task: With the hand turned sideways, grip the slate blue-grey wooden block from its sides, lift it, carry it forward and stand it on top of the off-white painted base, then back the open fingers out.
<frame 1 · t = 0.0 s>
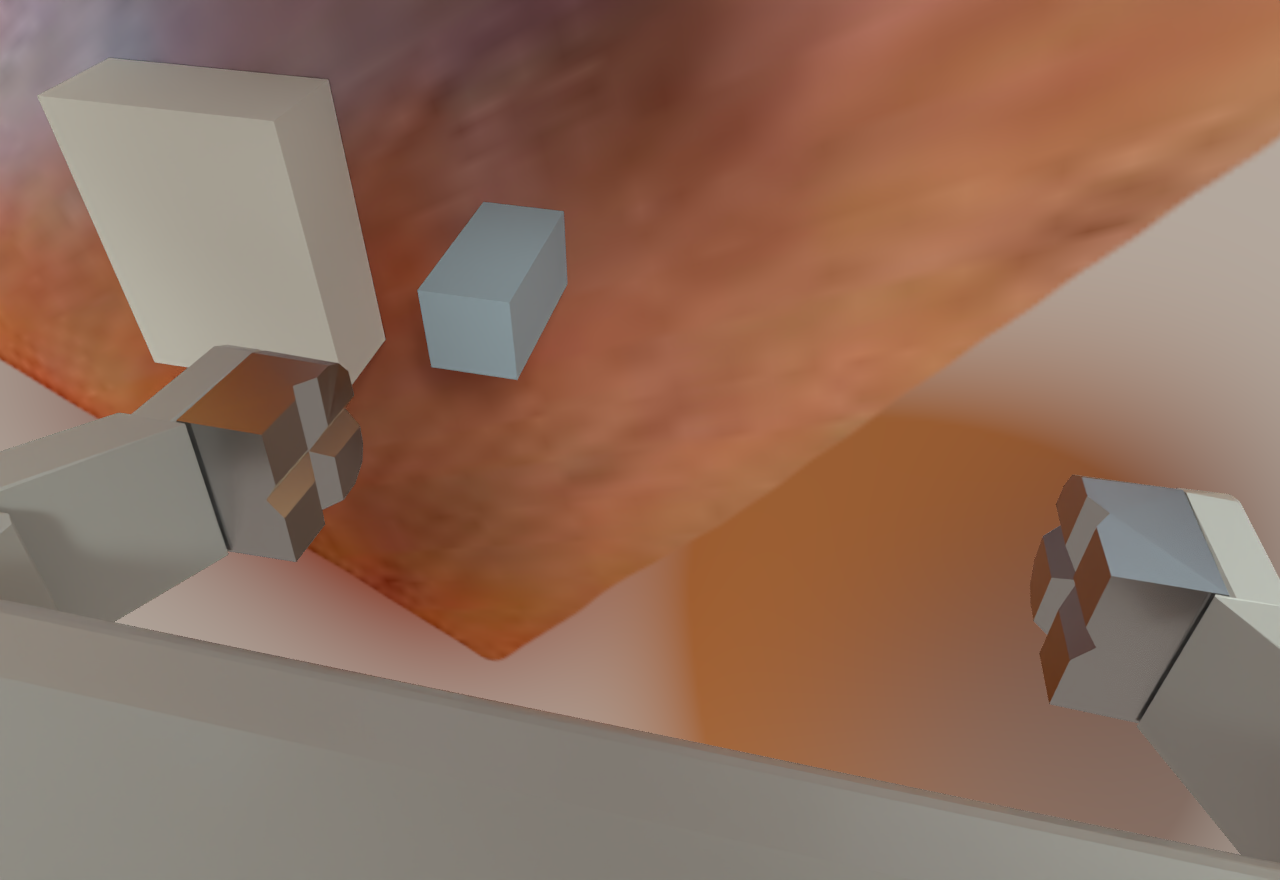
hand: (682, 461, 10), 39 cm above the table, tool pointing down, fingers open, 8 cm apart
base: (259, 210, 58), on the table
slate block: (526, 243, 55), on the table
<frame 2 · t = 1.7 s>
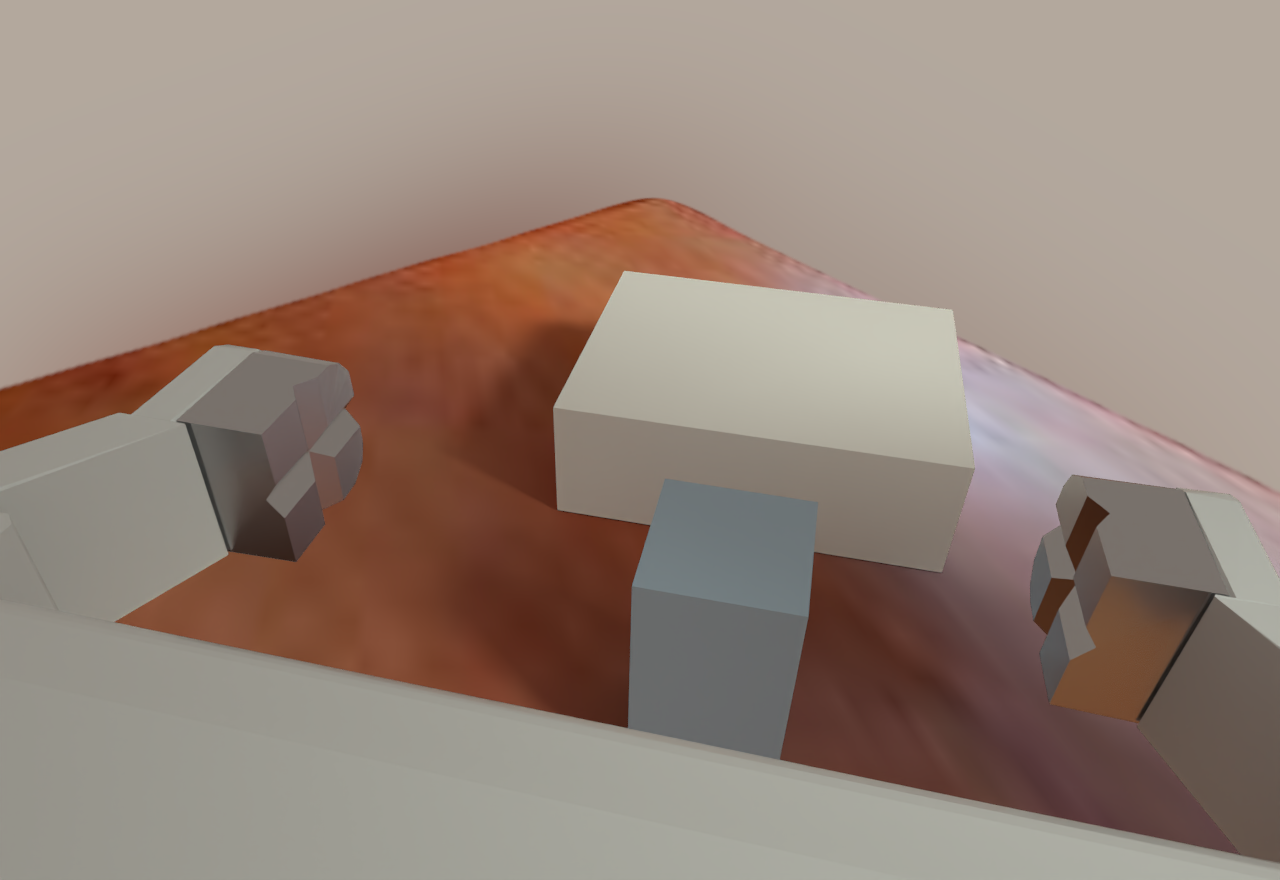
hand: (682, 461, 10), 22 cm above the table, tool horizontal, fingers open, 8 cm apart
base: (759, 451, 47), on the table
slate block: (707, 740, 33), on the table
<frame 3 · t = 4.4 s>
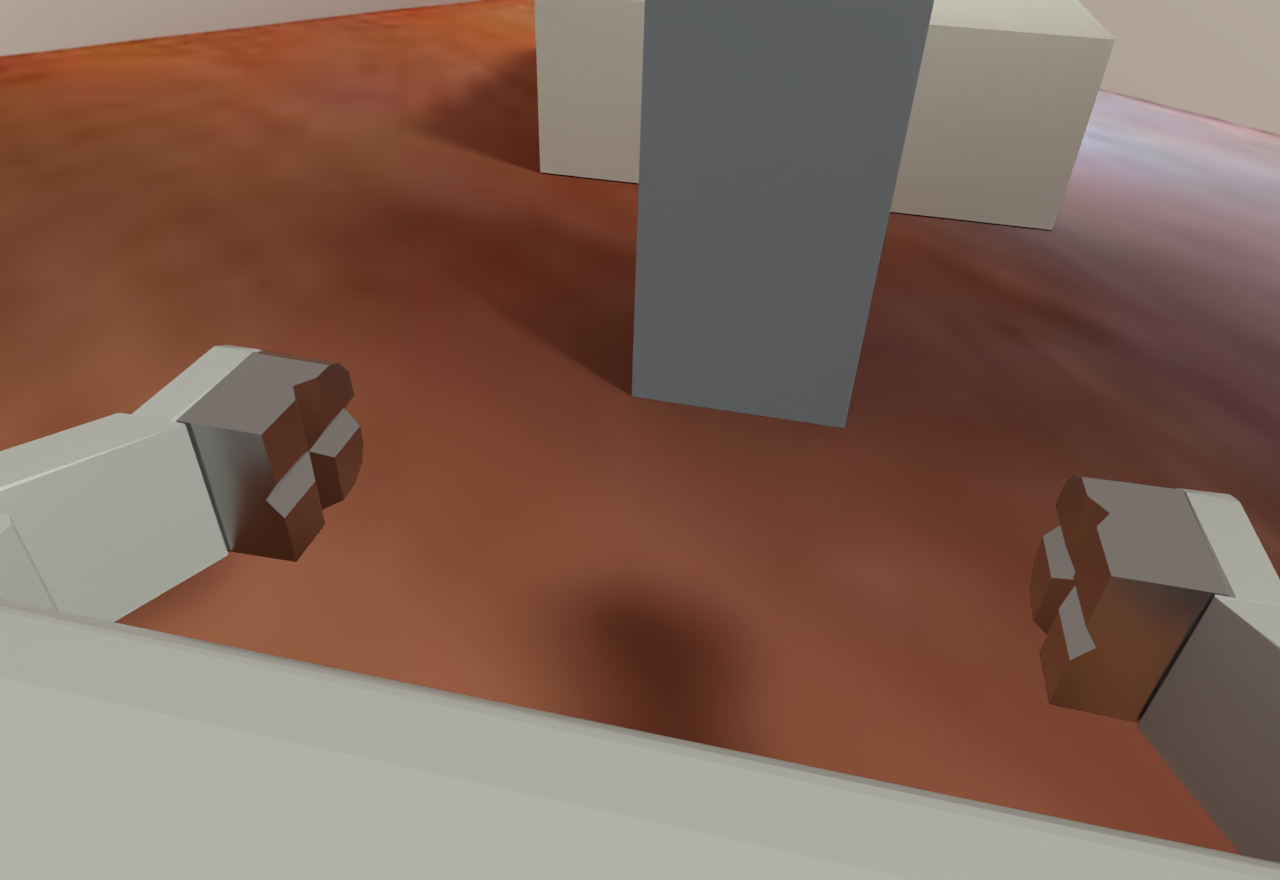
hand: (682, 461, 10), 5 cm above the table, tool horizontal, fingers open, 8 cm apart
base: (799, 138, 37), on the table
slate block: (748, 358, 23), on the table
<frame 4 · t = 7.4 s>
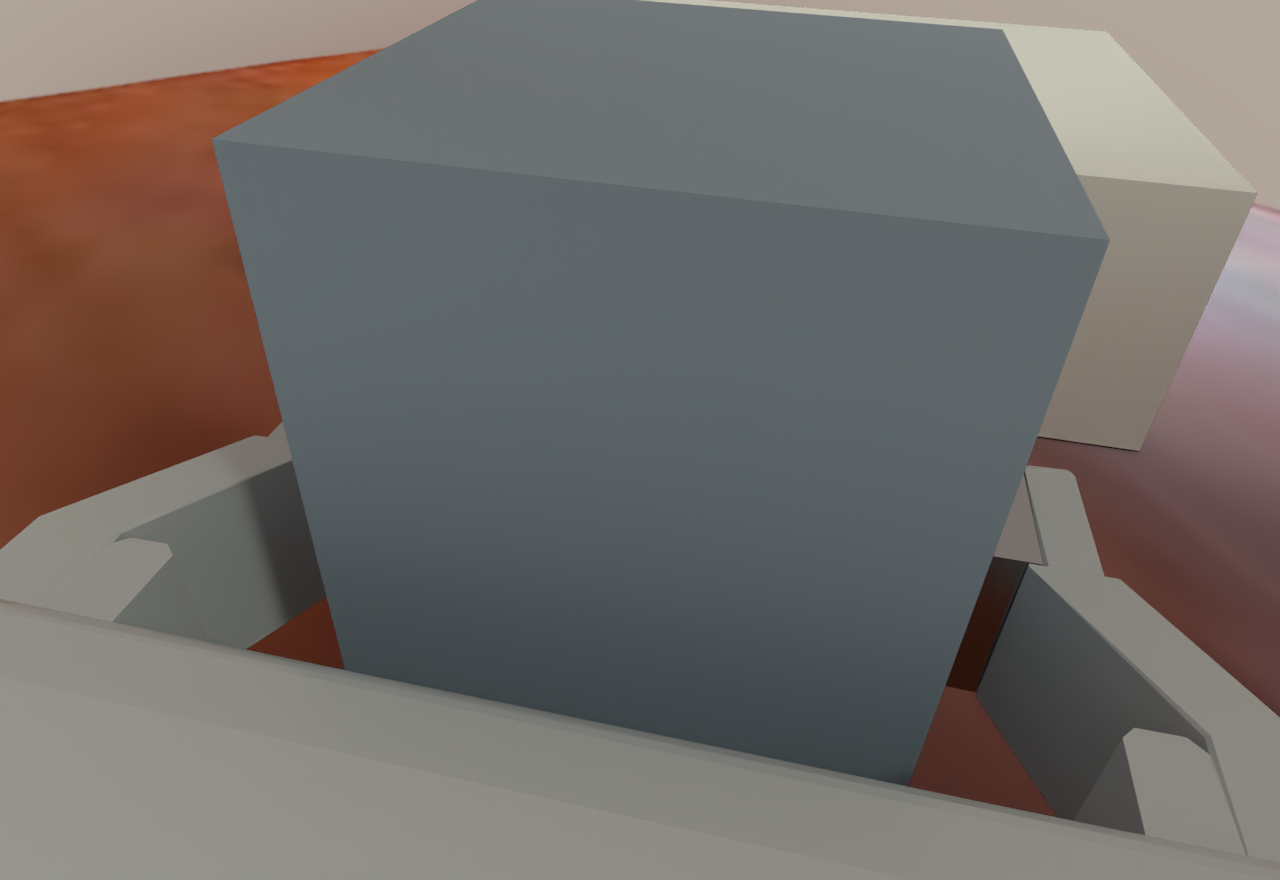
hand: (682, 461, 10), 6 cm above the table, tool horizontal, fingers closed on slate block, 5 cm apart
base: (770, 269, 27), on the table
slate block: (648, 803, 13), on the table, touching gripper
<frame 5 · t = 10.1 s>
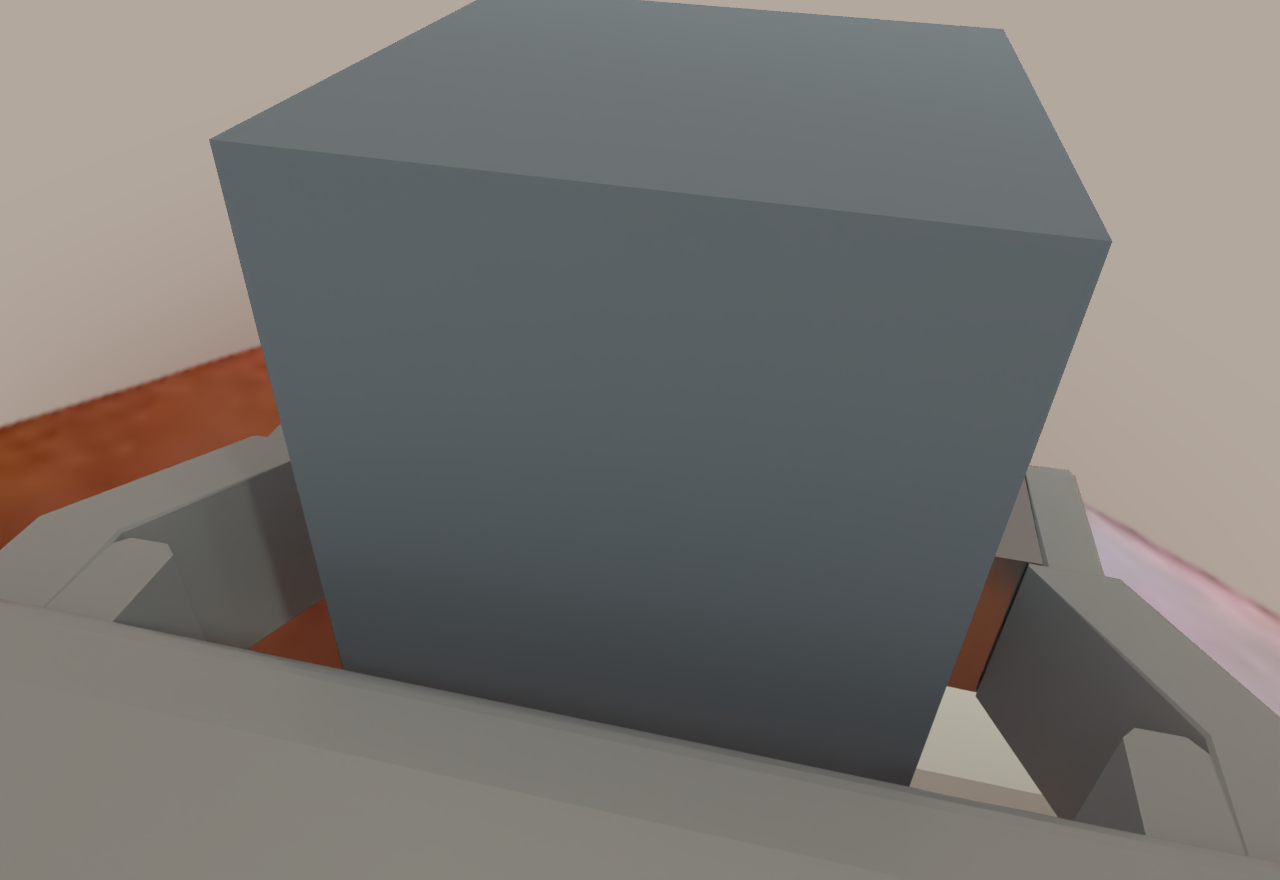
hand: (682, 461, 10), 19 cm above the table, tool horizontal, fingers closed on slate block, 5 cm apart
base: (720, 663, 32), on the table
slate block: (648, 804, 13), point 13 cm above the table, touching gripper
when the fingers open (13 cm above the table, at t = 13.1 s): slate block drops 1 cm, resting on base.
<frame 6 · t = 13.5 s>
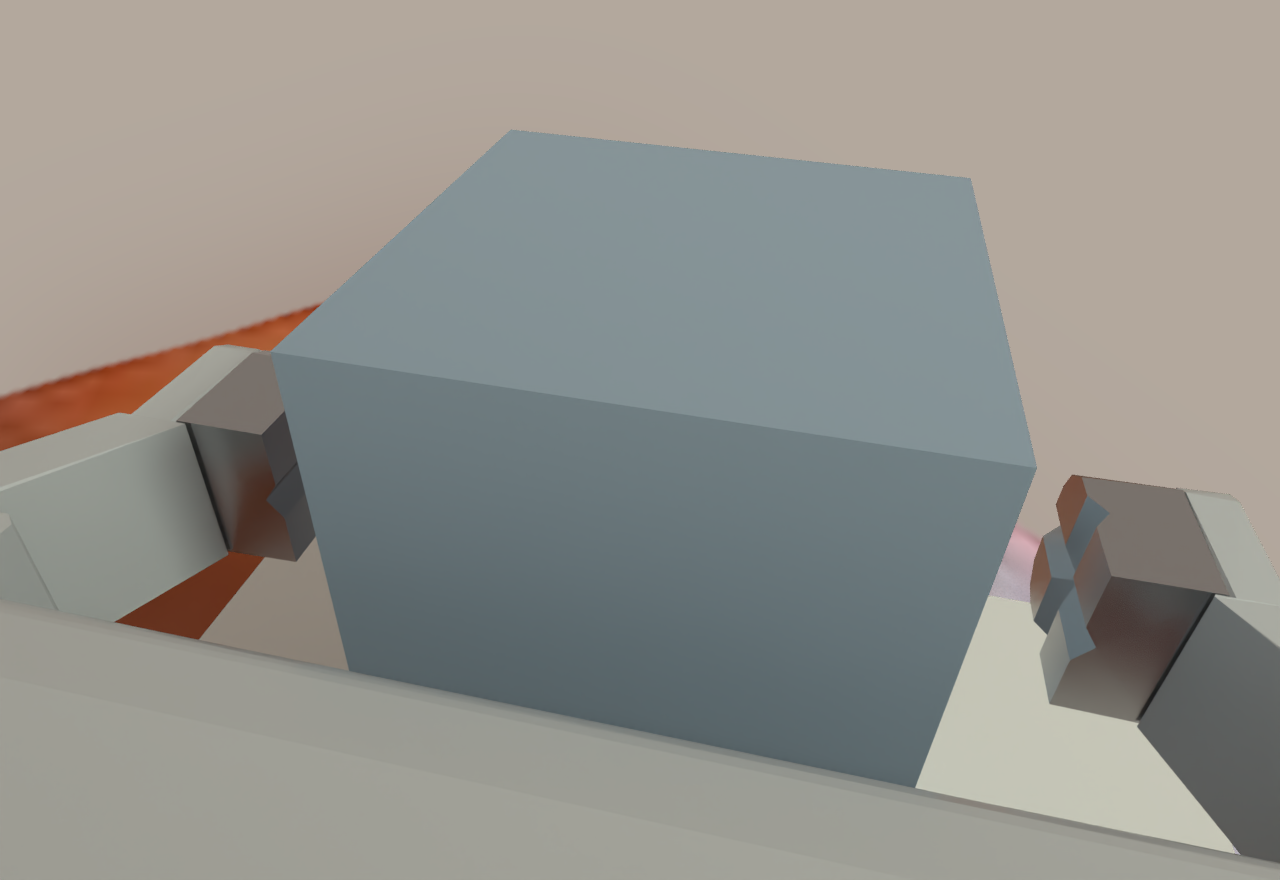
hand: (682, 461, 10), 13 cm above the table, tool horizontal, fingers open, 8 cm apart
slate block: (647, 857, 14), point 6 cm above the table, touching base
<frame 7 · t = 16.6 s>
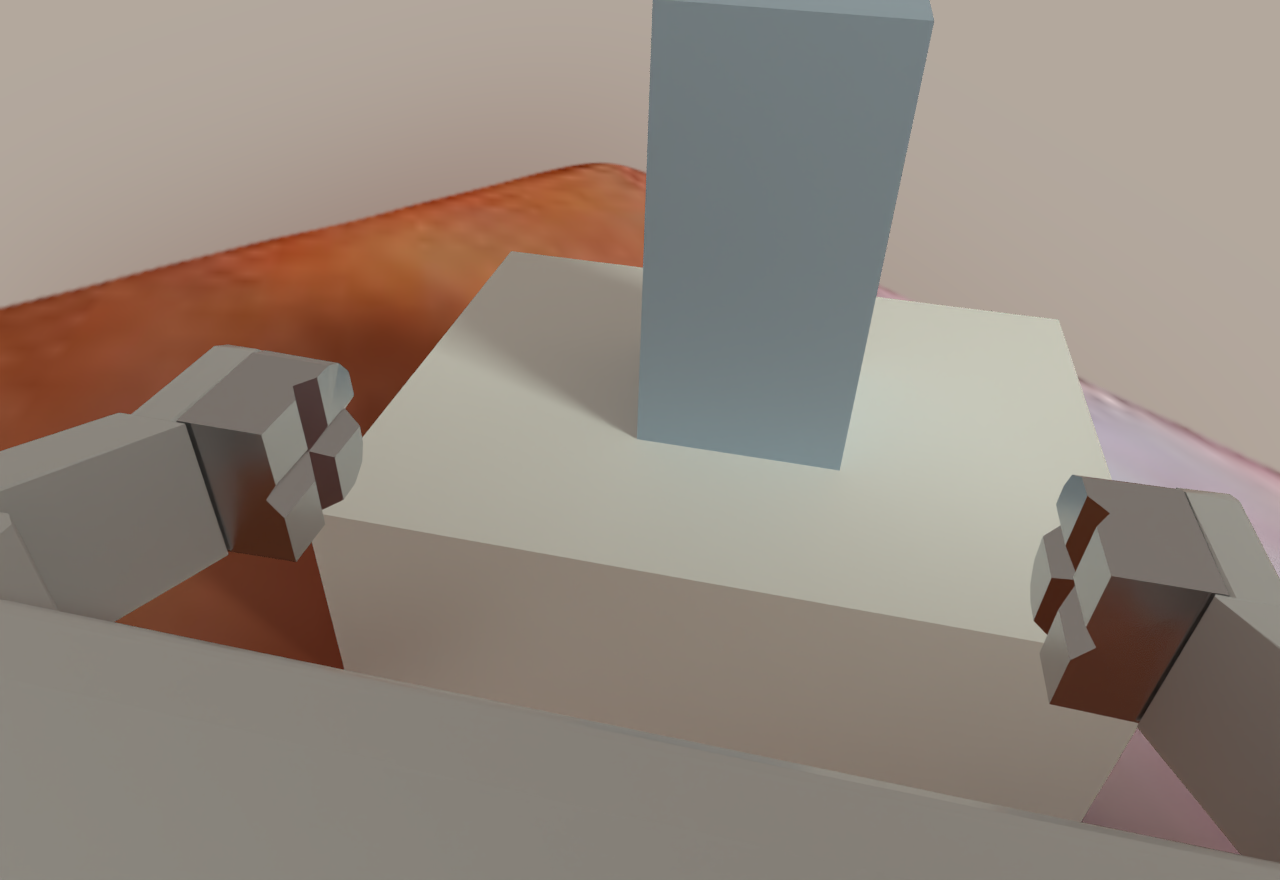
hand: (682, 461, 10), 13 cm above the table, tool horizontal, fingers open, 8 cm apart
base: (726, 560, 27), on the table
slate block: (748, 399, 24), point 6 cm above the table, touching base
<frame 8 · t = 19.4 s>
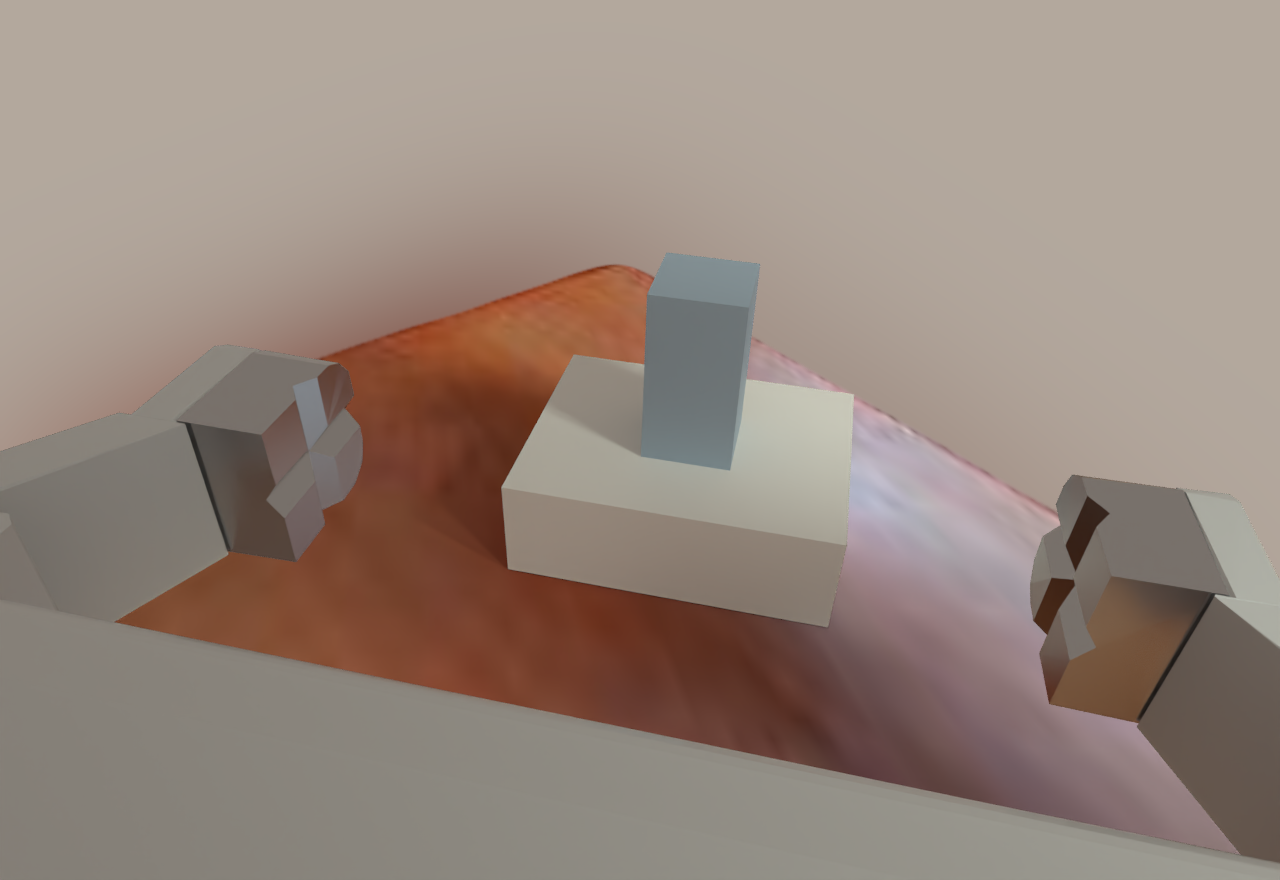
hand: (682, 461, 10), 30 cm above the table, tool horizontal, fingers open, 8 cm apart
base: (685, 515, 55), on the table
slate block: (692, 437, 51), point 6 cm above the table, touching base
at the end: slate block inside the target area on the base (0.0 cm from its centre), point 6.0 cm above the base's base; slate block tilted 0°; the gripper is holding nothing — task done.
